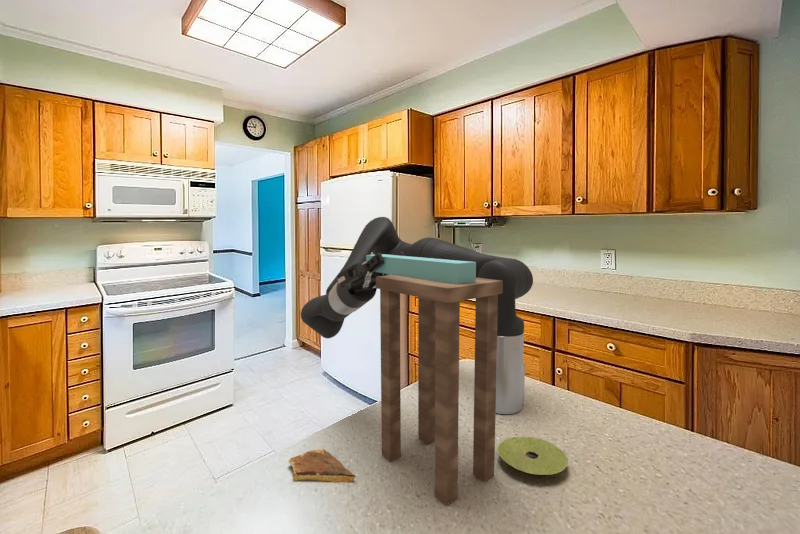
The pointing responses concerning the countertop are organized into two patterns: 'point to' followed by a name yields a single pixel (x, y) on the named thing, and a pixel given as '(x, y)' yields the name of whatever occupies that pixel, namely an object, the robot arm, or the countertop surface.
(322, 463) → the brown flat wedge
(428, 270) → the teal block
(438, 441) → the walnut stand
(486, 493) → the countertop surface
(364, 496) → the countertop surface
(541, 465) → the green flat disc
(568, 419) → the countertop surface
